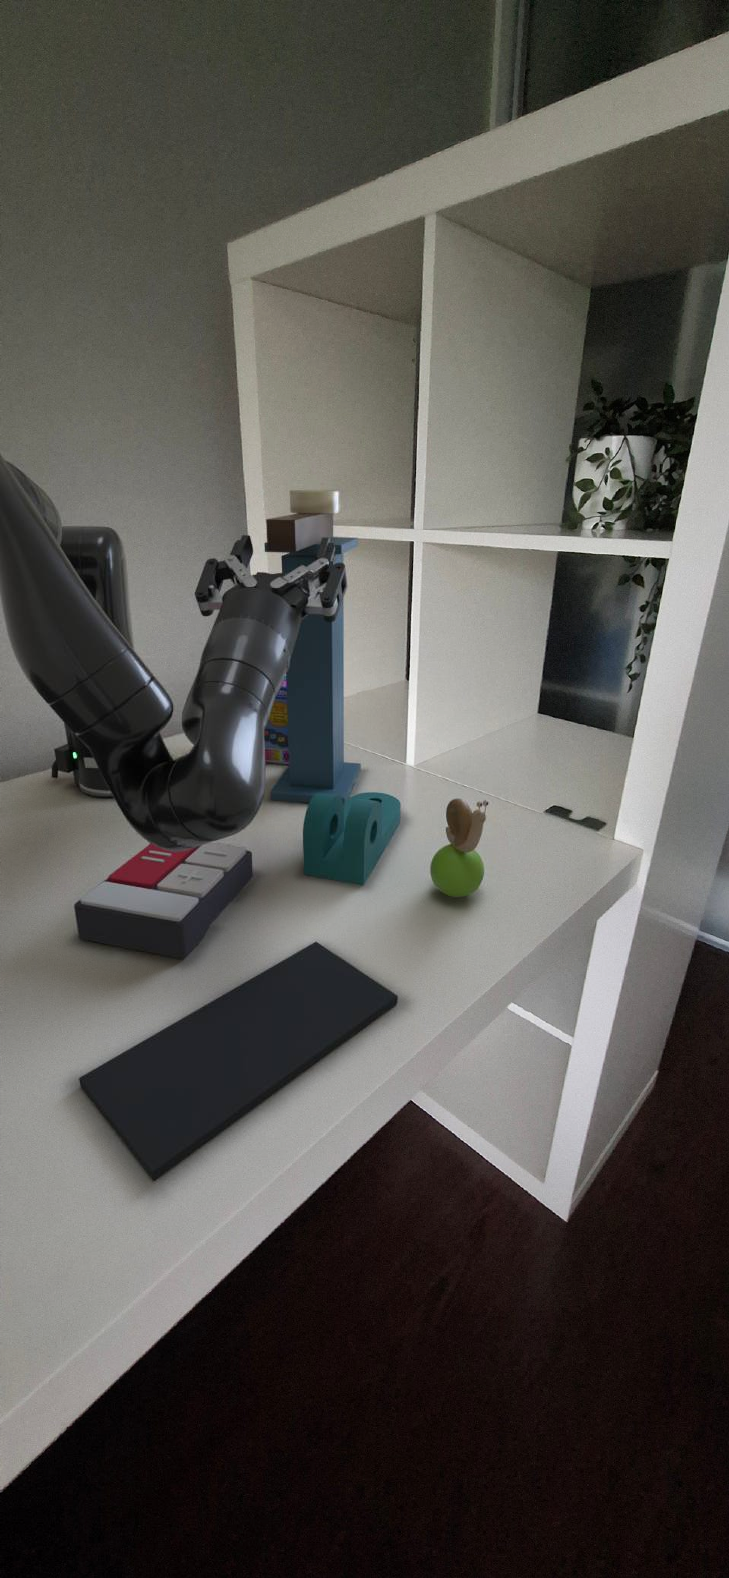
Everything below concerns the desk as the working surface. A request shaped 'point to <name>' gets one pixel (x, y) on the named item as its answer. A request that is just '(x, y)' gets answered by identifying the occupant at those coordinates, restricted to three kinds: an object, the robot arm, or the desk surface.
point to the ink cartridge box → (277, 730)
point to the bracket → (347, 834)
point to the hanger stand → (316, 699)
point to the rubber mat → (232, 1054)
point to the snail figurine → (460, 851)
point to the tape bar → (304, 520)
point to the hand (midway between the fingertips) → (287, 543)
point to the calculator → (164, 898)
